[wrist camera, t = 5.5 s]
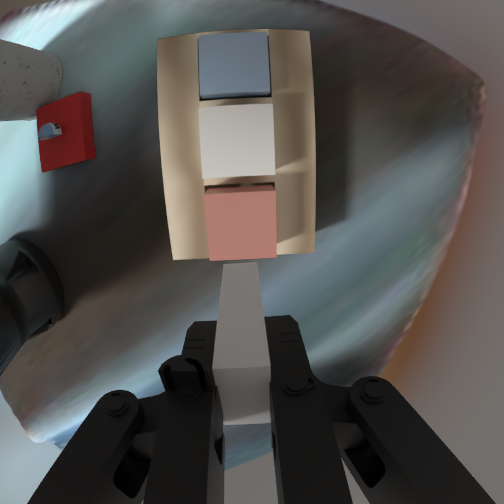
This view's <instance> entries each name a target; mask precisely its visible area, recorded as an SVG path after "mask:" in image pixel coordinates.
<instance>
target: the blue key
mask: <svg viewBox="0 0 504 504" xmlns="http://www.w3.org/2000/svg"><path fill="white" fill-rule="evenodd" d="M199 81H200V96H201V97H202V98H203V99H204V100H212V99H225V98H242V97H267V96H268V94H269V93H270V76H269V57H268V40H267V32H240V33H223V34H211V35H201V36H199Z"/></svg>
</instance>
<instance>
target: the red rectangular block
mask: <svg viewBox="0 0 504 504" xmlns="http://www.w3.org/2000/svg"><path fill="white" fill-rule="evenodd" d="M36 113H37V131H38V143H39V153H40V161H41V168H42V173H43V172H46V171H50V170H54V169H57V168H60V167H64V166H67V165H71V164H74V163H78V162H82V161H86V160H89V159H93V158H96V155H95V146H94V137H93V126H92V113H91V94H89V93H84V92H78V93H75V94H72V95H70V96H67V97H64V98H62V99H59V100H57V101H55V102H52V103H50V104H48V105H45V106H43V107H41V108H39V109H37V110H36Z"/></svg>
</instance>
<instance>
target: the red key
mask: <svg viewBox="0 0 504 504" xmlns="http://www.w3.org/2000/svg"><path fill="white" fill-rule="evenodd" d="M204 205H205V216H206V227H207V238H208V248H209V257H210V261H216V260H236V259H254V258H273V257H277V232H276V190H275V189H274V188H273V186H272V185H264V186H242V187H225V188H210V189H207V190H206V192H205V193H204Z"/></svg>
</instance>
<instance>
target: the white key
mask: <svg viewBox="0 0 504 504" xmlns="http://www.w3.org/2000/svg"><path fill="white" fill-rule="evenodd" d="M198 115H199V134H200V151H201V166H202V179H207V178H221V177H238V176H259V175H275V148H274V121H273V104H246V105H227V106H213V107H202V108H198Z"/></svg>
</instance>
